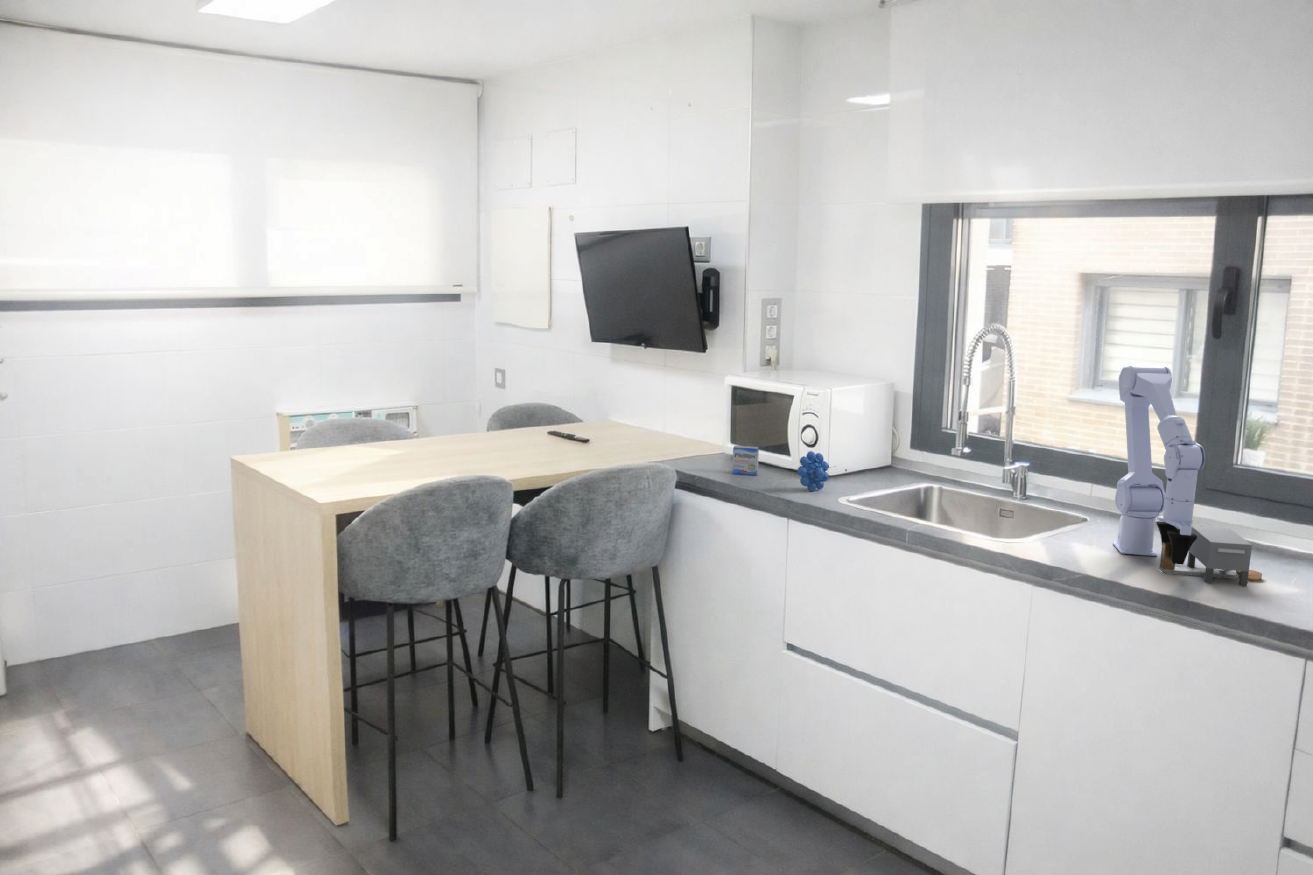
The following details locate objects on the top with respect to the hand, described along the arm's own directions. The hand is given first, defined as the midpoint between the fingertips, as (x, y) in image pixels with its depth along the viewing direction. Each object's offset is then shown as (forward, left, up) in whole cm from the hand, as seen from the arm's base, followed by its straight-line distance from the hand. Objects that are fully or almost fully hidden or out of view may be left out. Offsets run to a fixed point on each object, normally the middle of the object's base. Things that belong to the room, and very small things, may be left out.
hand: (1172, 558), depth 227 cm
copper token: (0, +16, -3) cm, 16 cm away
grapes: (-58, -82, -3) cm, 100 cm away
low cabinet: (0, +9, -3) cm, 9 cm away
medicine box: (-78, -105, -3) cm, 131 cm away
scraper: (0, +5, -3) cm, 6 cm away
